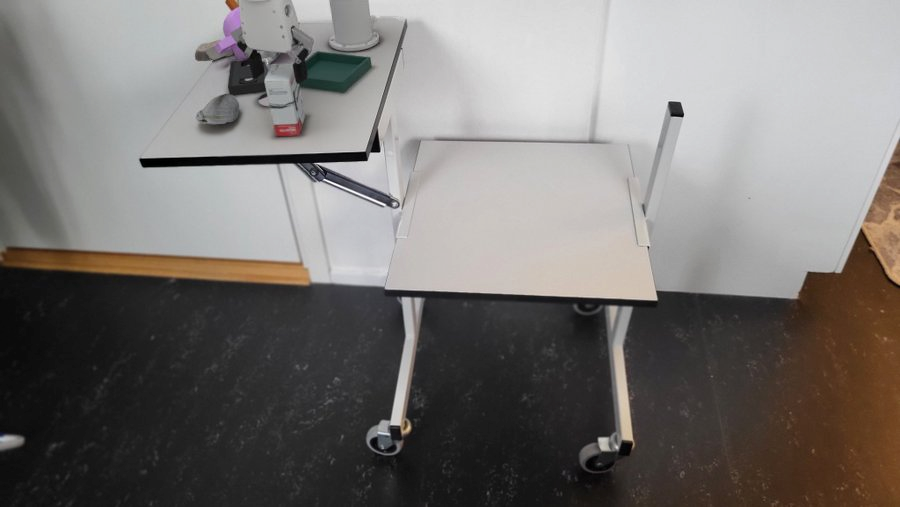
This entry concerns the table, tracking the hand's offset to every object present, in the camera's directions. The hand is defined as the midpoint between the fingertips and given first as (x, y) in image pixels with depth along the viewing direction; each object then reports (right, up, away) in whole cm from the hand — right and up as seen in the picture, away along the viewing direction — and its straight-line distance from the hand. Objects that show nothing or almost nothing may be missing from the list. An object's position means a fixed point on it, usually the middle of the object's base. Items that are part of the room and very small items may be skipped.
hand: (280, 78), depth 128 cm
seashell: (-15, -6, +10) cm, 19 cm away
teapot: (-10, +20, +26) cm, 34 cm away
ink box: (+1, -8, +7) cm, 11 cm away
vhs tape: (-14, +6, +25) cm, 29 cm away
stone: (-24, +15, +38) cm, 48 cm away
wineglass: (-5, 0, +17) cm, 18 cm away
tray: (+5, +7, +25) cm, 27 cm away
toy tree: (-25, +33, +46) cm, 62 cm away
